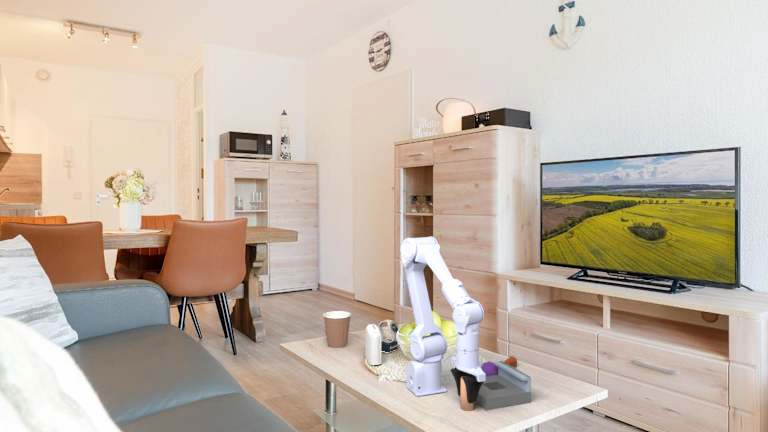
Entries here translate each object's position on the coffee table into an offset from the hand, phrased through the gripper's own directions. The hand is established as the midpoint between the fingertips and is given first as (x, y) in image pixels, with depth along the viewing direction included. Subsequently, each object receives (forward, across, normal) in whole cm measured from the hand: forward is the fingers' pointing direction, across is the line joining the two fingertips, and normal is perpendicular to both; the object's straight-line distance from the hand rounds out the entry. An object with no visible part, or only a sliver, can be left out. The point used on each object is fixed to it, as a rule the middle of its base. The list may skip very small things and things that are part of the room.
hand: (467, 399), depth 133 cm
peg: (+2, 0, 0) cm, 2 cm away
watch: (+3, +52, +2) cm, 52 cm away
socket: (+2, +4, -11) cm, 12 cm away
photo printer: (+3, +43, +11) cm, 44 cm away
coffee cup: (+3, +63, +18) cm, 66 cm away
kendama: (+3, +18, -22) cm, 29 cm away
